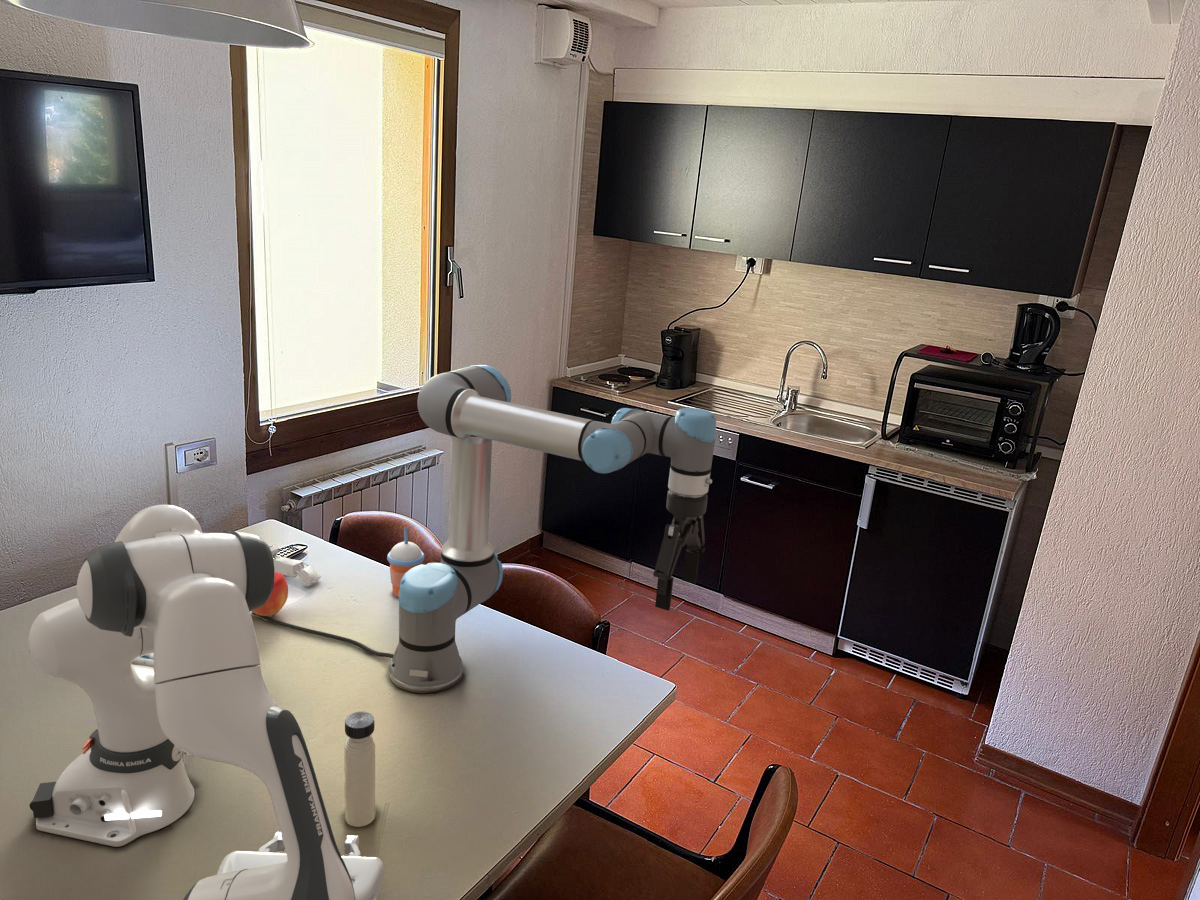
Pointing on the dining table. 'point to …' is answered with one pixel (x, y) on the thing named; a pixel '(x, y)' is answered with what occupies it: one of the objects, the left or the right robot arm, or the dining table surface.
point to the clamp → (294, 568)
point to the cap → (359, 725)
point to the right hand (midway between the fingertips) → (676, 594)
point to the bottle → (359, 781)
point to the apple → (275, 597)
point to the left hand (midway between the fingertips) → (318, 837)
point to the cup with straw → (403, 560)
